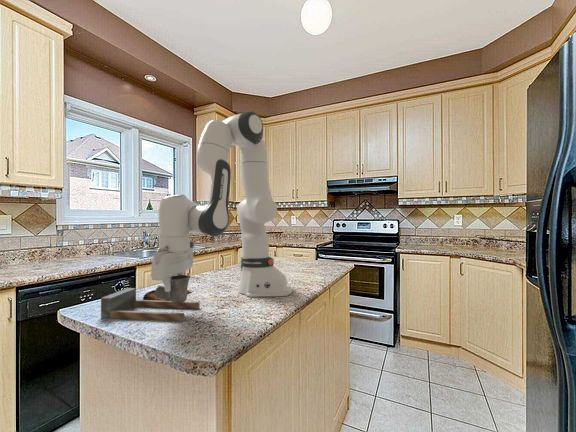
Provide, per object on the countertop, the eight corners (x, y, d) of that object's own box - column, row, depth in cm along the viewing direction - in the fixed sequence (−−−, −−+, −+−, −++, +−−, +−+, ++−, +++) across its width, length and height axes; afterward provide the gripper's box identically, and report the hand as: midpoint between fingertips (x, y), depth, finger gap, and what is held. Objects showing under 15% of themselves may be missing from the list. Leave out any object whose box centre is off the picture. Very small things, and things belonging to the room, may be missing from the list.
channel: (199, 307, 97) (199, 290, 97) (182, 321, 85) (182, 300, 85) (127, 305, 100) (127, 287, 100) (100, 317, 88) (101, 298, 88)
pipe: (164, 296, 97) (164, 273, 97) (194, 300, 93) (195, 275, 93) (149, 301, 92) (150, 276, 92) (181, 305, 87) (181, 279, 87)
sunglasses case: (162, 304, 100) (154, 287, 101) (147, 313, 102) (140, 296, 103) (193, 291, 118) (185, 277, 119) (180, 299, 119) (173, 284, 120)
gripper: (165, 249, 81) (166, 298, 81) (196, 242, 101) (196, 281, 101) (144, 248, 82) (145, 297, 82) (179, 242, 102) (179, 280, 102)
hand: (173, 288), depth 92 cm, fingers closed on pipe, 5 cm apart
